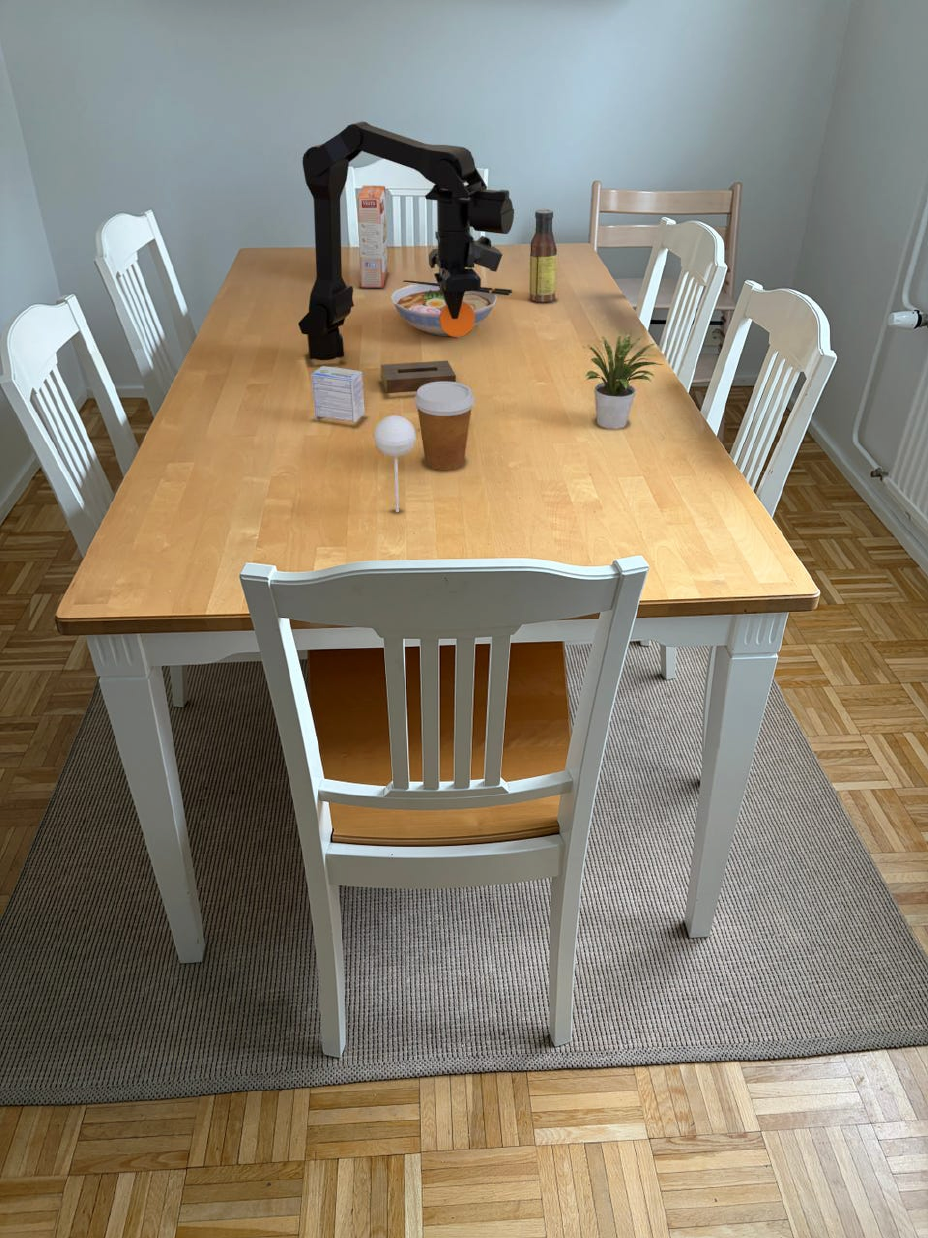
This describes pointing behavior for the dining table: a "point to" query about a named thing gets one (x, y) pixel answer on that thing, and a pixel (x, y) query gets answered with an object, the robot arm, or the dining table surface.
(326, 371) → the medicine box
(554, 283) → the sauce bottle
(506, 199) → the robot arm
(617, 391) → the house plant
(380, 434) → the lollipop
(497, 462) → the dining table surface
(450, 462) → the disposable coffee cup
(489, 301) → the ramen bowl
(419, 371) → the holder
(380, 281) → the cracker box
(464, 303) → the token
